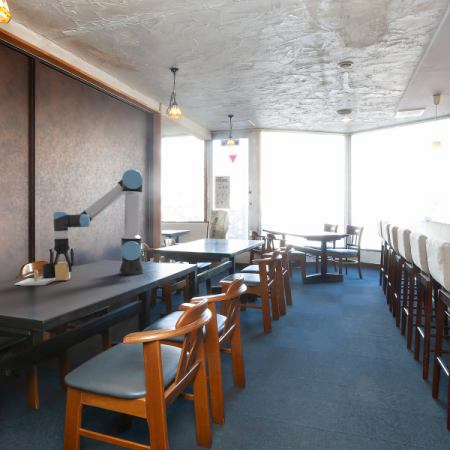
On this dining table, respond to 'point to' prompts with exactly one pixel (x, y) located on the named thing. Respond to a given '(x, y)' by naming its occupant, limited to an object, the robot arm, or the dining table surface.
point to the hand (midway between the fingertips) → (63, 277)
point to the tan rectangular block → (61, 271)
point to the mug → (48, 271)
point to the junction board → (31, 281)
